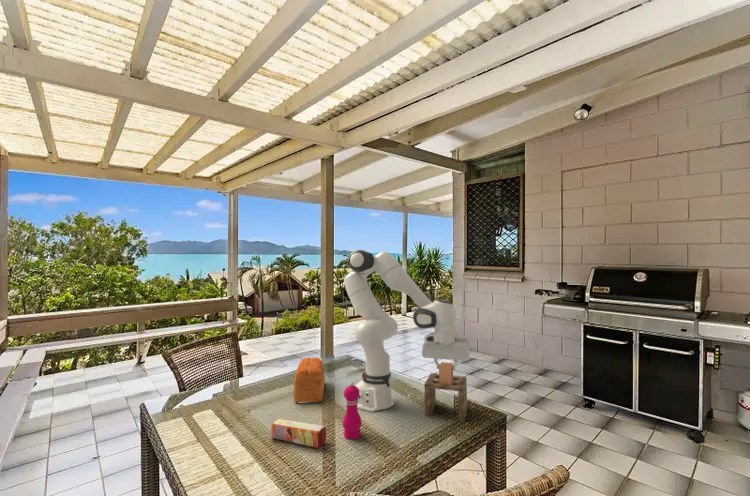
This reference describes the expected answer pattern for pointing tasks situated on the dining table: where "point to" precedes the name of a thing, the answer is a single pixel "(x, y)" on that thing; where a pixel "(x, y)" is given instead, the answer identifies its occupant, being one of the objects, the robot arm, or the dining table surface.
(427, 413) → the stand
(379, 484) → the dining table surface
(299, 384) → the bread
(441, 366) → the tall peach block
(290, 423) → the snack package
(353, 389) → the pepper mill
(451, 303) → the robot arm
